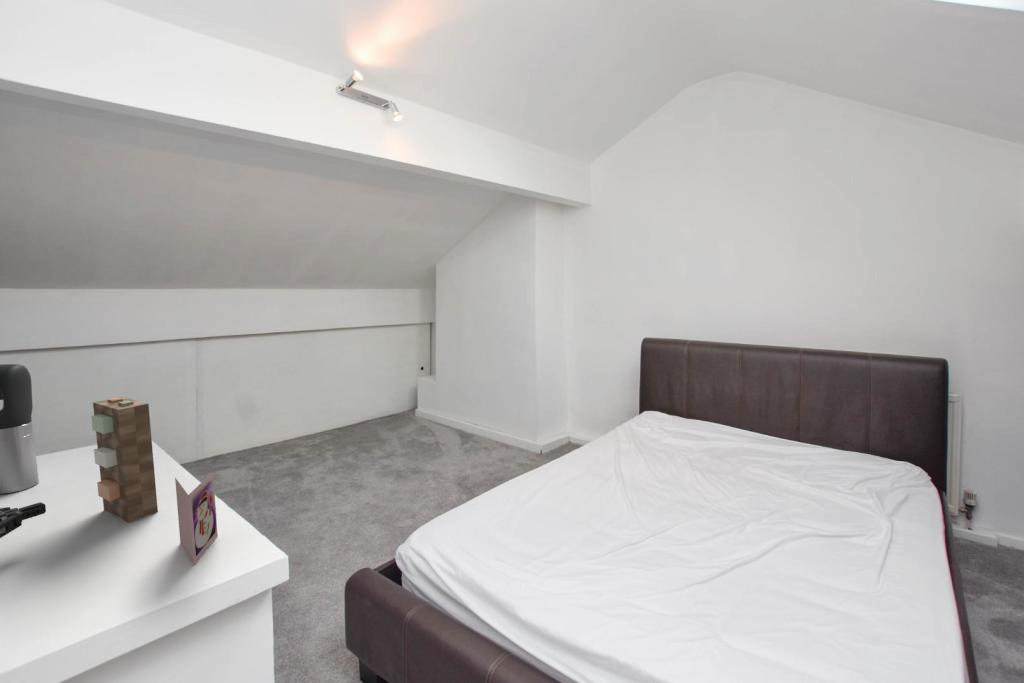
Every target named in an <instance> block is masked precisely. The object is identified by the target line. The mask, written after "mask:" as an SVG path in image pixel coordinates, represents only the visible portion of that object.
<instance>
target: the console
mask: <svg viewBox="0 0 1024 683" xmlns="http://www.w3.org/2000/svg"><path fill="white" fill-rule="evenodd" d="M149 405H150V404H149V403H147V402H143V401H140V400H135V399H131V398H127V397H124V396H123V397H114V398H108V399H104V400H100V401H93V402H92V406H93V407H92V408H93V416H94V415H99V414H106V415H110V416H113V425H114V432H110V433H106V434H102V433H100V432H97V431H95V436H96V445H97V449H98V448H102V447H109V448H112V449H114V450H116V456H117V465H115V466H112V467H108V468H105V467H103V466H100V465H99V474H100V481H103V480H107V479H111V480H113V481H115V482H118V483H119V487H120V497H121V498H118V499H115V500H112V501H108V500H106V499H104V498H102V504H103V511H104V512H107V513H109V514H110V515H112V516H115V517H117V518H119V519H121V520H123V521H125V522H127V523H132V522H135V521H137V520H140V519H143V518H145V517H147V516H151V515H154V514H156V513H159V510H158V499H157V488H156V487H157V486H156V475H155V462H154V452H153V440H152V430H151V417H150V406H149Z"/></svg>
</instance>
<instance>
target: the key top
mask: <svg viewBox="0 0 1024 683" xmlns="http://www.w3.org/2000/svg"><path fill="white" fill-rule="evenodd" d="M90 417H91V426H92V431H94V432H96V431H97V432H100V433H102V434H106V433H110V432H114V425H113V416H110V415H106V414H99V415H94V414H93V415H91V416H90Z"/></svg>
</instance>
